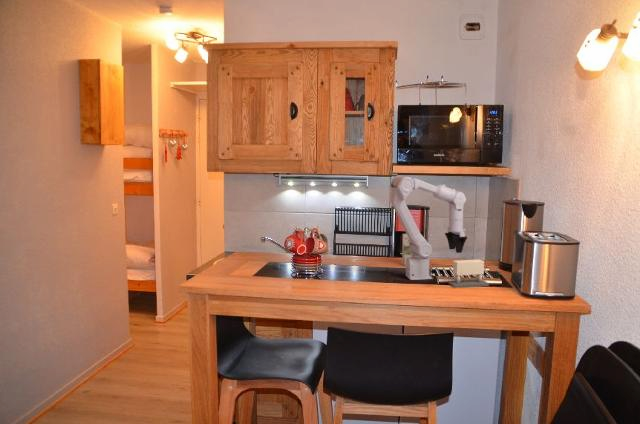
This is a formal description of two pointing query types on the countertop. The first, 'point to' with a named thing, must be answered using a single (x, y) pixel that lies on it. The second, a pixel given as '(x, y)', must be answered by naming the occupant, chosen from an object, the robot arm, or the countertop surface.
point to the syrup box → (405, 249)
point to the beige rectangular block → (468, 267)
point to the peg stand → (468, 282)
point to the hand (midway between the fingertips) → (455, 250)
